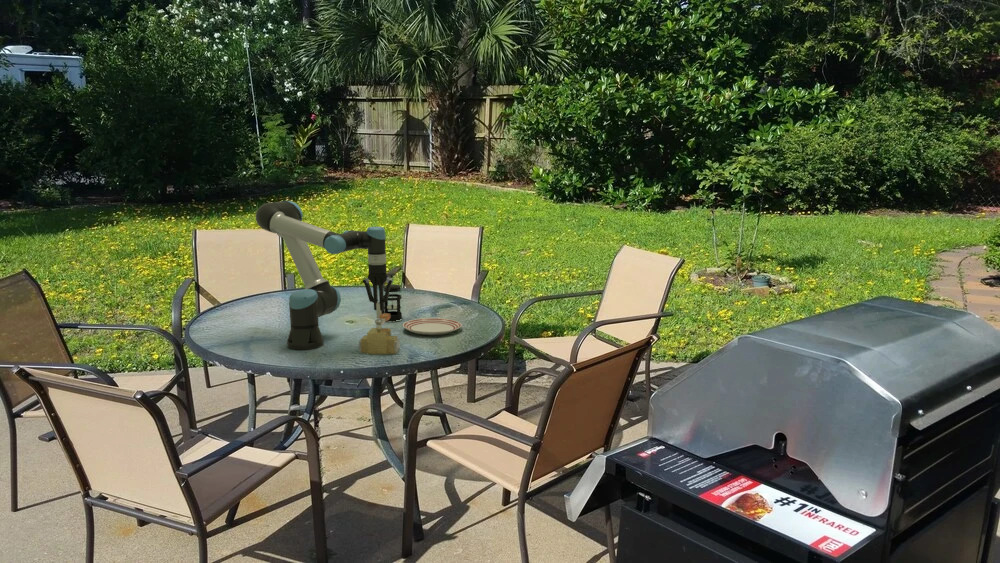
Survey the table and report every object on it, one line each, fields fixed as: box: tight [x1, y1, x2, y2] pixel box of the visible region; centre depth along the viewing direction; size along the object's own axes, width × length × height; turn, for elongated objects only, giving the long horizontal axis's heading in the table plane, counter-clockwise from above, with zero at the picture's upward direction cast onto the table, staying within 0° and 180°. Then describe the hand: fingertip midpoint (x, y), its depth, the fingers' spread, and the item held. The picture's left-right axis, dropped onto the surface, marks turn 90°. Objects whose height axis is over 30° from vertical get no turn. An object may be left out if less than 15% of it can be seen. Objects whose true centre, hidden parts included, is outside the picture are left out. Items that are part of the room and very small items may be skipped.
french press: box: [381, 273, 403, 321], centre depth 359 cm, size 12×9×23 cm
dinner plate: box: [402, 317, 463, 336], centre depth 343 cm, size 27×27×3 cm
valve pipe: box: [358, 327, 401, 356], centre depth 308 cm, size 16×8×9 cm, turn 85°
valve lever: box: [374, 312, 390, 331], centre depth 313 cm, size 3×16×4 cm, turn 175°
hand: (379, 317), depth 317 cm, fingers closed
